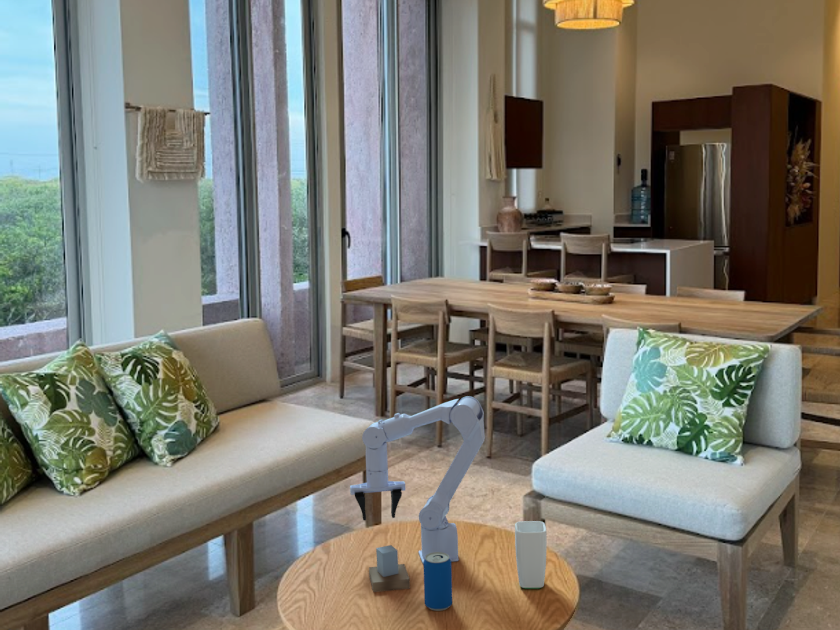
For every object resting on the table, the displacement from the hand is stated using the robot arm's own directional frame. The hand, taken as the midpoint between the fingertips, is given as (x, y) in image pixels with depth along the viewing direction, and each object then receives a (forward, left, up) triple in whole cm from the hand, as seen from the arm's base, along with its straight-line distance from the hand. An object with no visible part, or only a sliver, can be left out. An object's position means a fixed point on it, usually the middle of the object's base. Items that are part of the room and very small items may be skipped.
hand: (378, 517), depth 239 cm
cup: (-34, +27, -10) cm, 45 cm away
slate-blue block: (0, +18, -8) cm, 19 cm away
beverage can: (-10, +33, -10) cm, 36 cm away
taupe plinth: (0, +18, -10) cm, 21 cm away
